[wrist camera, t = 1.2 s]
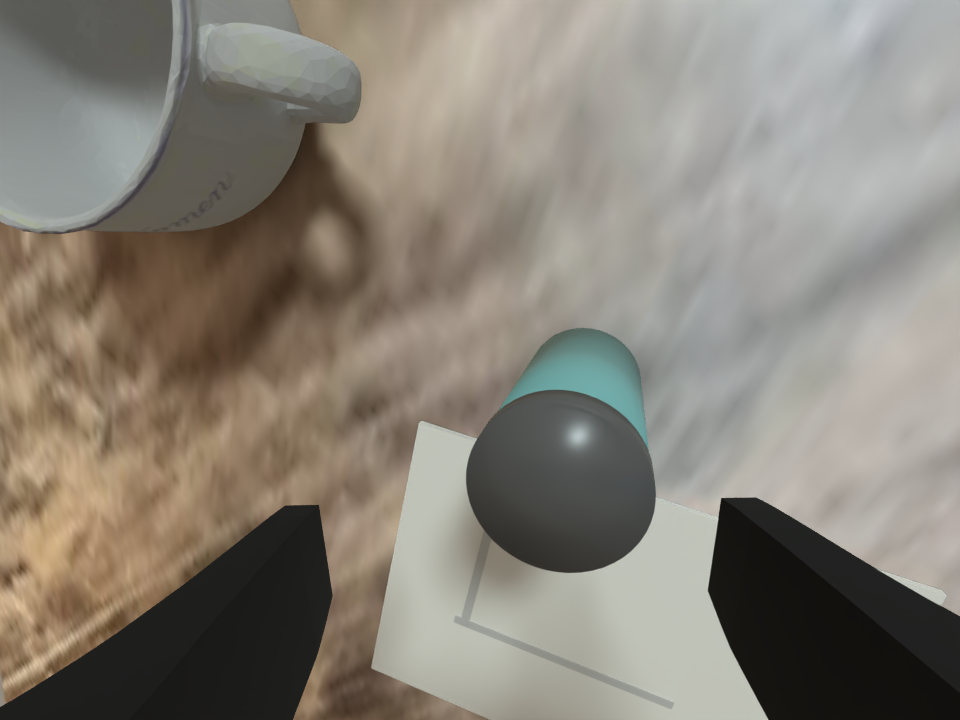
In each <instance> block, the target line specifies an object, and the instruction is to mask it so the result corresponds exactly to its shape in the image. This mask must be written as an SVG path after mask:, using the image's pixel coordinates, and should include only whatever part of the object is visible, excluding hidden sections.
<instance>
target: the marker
mask: <svg viewBox="0 0 960 720" xmlns="http://www.w3.org/2000/svg"><path fill="white" fill-rule="evenodd" d="M466 487H467V494H468V498H469V502H470V505H471V507H472V510H473V512H474V515H475V516H476V518H477V520H478V522H479V524H480V525H481V526H482V528H483V529H484V531H485V532H486V533H487V534H488V536H489V537H490V538H491V539H492V540H493V541H494V542H495V543H496V544H497V545H498V546H500V547H501V548H502V549H503V550H504V551H506V552H507V553H509V554H510V555H512V556H513V557H515V558H517V559H519V560H520V561H522V562H524V563H527V564H529V565H531V566H534V567H537V568H540V569H544V570H548V571H553V572H561V573H582V572H588V571H593V570H597V569H601V568H604V567H606V566H608V565H611V564H613V563H615V562H617V561H618V560H620V559H622V558H623V557H625V556H626V555H627V554H628V553H630V552H631V551H632V550H633V549H634V548H635V547H636V546H637V545H638V544H639V543H640V541H641V540H642V538H643V537H644V535H645V534H646V532H647V530H648V528H649V526H650V524H651V521H652V518H653V514H654V510H655V502H656V491H655V481H654V472H653V466H652V461H651V457H650V454H649V449H648V440H647V431H646V422H645V413H644V404H643V395H642V386H641V377H640V372H639V368H638V365H637V362H636V360H635V358H634V356H633V355H632V353H631V352H630V350H629V349H628V348H627V347H626V346H625V345H624V344H623V343H622V342H621V341H619V340H618V339H616V338H615V337H613V336H612V335H610V334H608V333H605V332H602V331H600V330H595V329H589V328H576V329H571V330H567V331H564V332H561V333H559V334H557V335H555V336H553V337H552V338H550V339H549V340H547V341H546V342H545V343H544V344H543V345H542V346H541V347H540V348H539V350H538V351H537V353H536V354H535V356H534V357H533V359H532V360H531V362H530V363H529V365H528V366H527V368H526V369H525V371H524V372H523V374H522V375H521V377H520V379H519V380H518V382H517V383H516V385H515V386H514V388H513V389H512V391H511V392H510V394H509V395H508V397H507V398H506V400H505V401H504V403H503V404H502V406H501V408H500V409H499V411H498V412H497V413H496V414H495V415H494V416H493V417H492V418H491V419H490V421H489V422H488V424H487V425H486V427H485V428H484V430H483V431H482V433H481V434H480V436H479V437H478V439H477V440H476V442H475V444H474V446H473V448H472V450H471V452H470V456H469V459H468V463H467V469H466Z"/></svg>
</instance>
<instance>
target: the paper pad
mask: <svg viewBox="0 0 960 720" xmlns="http://www.w3.org/2000/svg"><path fill="white" fill-rule="evenodd" d="M476 440H477V439H476V438H473V437H470V436H467V435H464V434H461V433H458V432H455V431H452V430H448V429H445V428H442V427H439V426H436V425H433V424H430V423H427V422H424V421H421V422H420V423H419V426H418V431H417V436H416V441H415V446H414V451H413V456H412V461H411V467H410V472H409V477H408V482H407V487H406V492H405V497H404V502H403V507H402V513H401V518H400V523H399V528H398V533H397V538H396V543H395V548H394V553H393V559H392V564H391V569H390V574H389V579H388V584H387V589H386V594H385V599H384V605H383V610H382V615H381V620H380V625H379V630H378V635H377V640H376V645H375V651H374V656H373V661H372V666H371V668H372V669H374V670H376V671H379V672H381V673H383V674H386V675H388V676H390V677H392V678H395V679H397V680H399V681H402V682H404V683H406V684H409V685H411V686H413V687H416V688H418V689H420V690H422V691H425V692H427V693H429V694H432V695H434V696H436V697H439V698H441V699H443V700H446V701H448V702H450V703H452V704H455V705H457V706H459V707H462V708H464V709H466V710H469V711H471V712H473V713H475V714H478V715H480V716H482V717H485V718H487V719H489V720H768V718H767V717H766V715H765V713H764V711H763V709H762V707H761V705H760V704H759V702H758V700H757V698H756V696H755V694H754V692H753V690H752V689H751V687H750V685H749V683H748V681H747V679H746V677H745V675H744V674H743V672H742V670H741V668H740V666H739V664H738V662H737V660H736V658H735V656H734V654H733V652H732V651H731V649H730V646H729V644H728V641H727V639H726V637H725V634H724V632H723V629H722V627H721V624H720V622H719V619H718V617H717V614H716V611H715V609H714V606H713V603H712V601H711V598H710V595H709V593H708V585H709V578H710V571H711V565H712V558H713V551H714V544H715V538H716V531H717V524H718V517H715V516H712V515H709V514H706V513H703V512H700V511H697V510H694V509H691V508H688V507H685V506H682V505H679V504H675V503H672V502H669V501H666V500H663V499H660V498H657V497H656V502H655V510H654V514H653V518H652V521H651V524H650V526H649V528H648V530H647V532H646V534H645V535H644V537H643V538H642V540H641V541H640V543H639V544H638V545H637V546H636V547H635V548H634V549H633V550H632V551H631V552H630V553H628V554H627V555H626V556H625V557H623V558H622V559H620V560H618V561H617V562H615V563H613V564H611V565H608V566H606V567H604V568H601V569H597V570H593V571H588V572H582V573H561V572H553V571H548V570H544V569H540V568H537V567H534V566H531V565H529V564H527V563H524V562H522V561H520V560H519V559H517V558H515V557H513V556H512V555H510V554H509V553H507V552H506V551H504V550H503V549H502V548H501V547H500V546H498V545H497V544H496V543H495V542H494V541H493V540H492V539H491V538H490V537H489V536H488V534H487V533H486V532H485V531H484V529H483V528H482V526H481V525H480V524H479V522H478V520H477V518H476V516H475V515H474V512H473V510H472V507H471V505H470V502H469V498H468V494H467V487H466V469H467V463H468V459H469V456H470V452H471V450H472V448H473V446H474V444H475V442H476ZM877 570H878V569H877ZM879 571H881V570H879ZM881 572H882V573H884V574H886V575H888V576H889V577H891V578H893V579H894V580H896V581H898V582H899V583H901V584H903V585H905V586H906V587H908V588H910V589H912V590H913V591H915V592H917V593H919V594H920V595H922V596H924V597H926V598H927V599H929V600H931V601H933V602H935V603H936V604H938V605H940V606H941V604H942V603H943V601H944V600H945V598H946V595H945V594H944V592H943V591H942V590H939V589H936V588H933V587H930V586H927V585H924V584H921V583H918V582H915V581H912V580H909V579H906V578H903V577H899V576H896V575H893V574H890V573H887V572H884V571H881Z"/></svg>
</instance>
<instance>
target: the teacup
mask: <svg viewBox="0 0 960 720" xmlns="http://www.w3.org/2000/svg"><path fill="white" fill-rule="evenodd" d="M360 101H361V77H360V72H359V70H358V68H357V66H356V65H355V63H354V62H353V61H352V60H351V59H349V58H348V57H347V56H346V55H345V54H343V53H342V52H340V51H338V50H336V49H334V48H332V47H331V46H328V45H326V44H323V43H320V42H318V41H315V40H313V39H310V38H307V37H305V36H302V35H301V31H300V28H299V25H298V22H297V20H296V17H295V14H294V11H293V9H292V6H291V4H290V2H289V0H0V221H1V222H3V223H4V224H7V225H9V226H12V227H14V228H17V229H19V230H22V231H28V232H35V233H46V234H64V233H71V232H77V231H82V230H87V231H108V232H180V231H192V230H199V229H206V228H210V227H215V226H219V225H222V224H225V223H228V222H230V221H233V220H235V219H237V218H239V217H241V216H243V215H244V214H246V213H248V212H249V211H251V210H252V209H254V208H255V207H257V206H258V205H259V204H260V203H261V202H262V201H264V200H265V199H266V198H267V197H268V196H269V195H270V194H271V193H272V192H273V191H274V190H275V188H276V187H277V186H278V185H279V183H280V182H281V181H282V179H283V178H284V176H285V174H286V173H287V171H288V170H289V168H290V166H291V164H292V162H293V160H294V158H295V156H296V154H297V151H298V149H299V146H300V142H301V139H302V135H303V132H304V128H305V123H312V122H321V123H338V124H339V123H348V122H350V121H352V120H353V119H354V117H355V116H356V114H357V112H358V109H359V107H360Z"/></svg>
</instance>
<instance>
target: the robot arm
mask: <svg viewBox="0 0 960 720" xmlns="http://www.w3.org/2000/svg"><path fill="white" fill-rule="evenodd" d="M708 593H709V595H710V598H711V601H712V603H713V606H714V609H715V611H716V614H717V617H718V619H719V622H720V624H721V627H722V629H723V632H724V634H725V637H726V639H727V641H728V644H729V646H730V649H731V651H732V652H733V654H734V656H735V658H736V660H737V662H738V664H739V666H740V668H741V670H742V672H743V674H744V675H745V677H746V679H747V681H748V683H749V685H750V687H751V689H752V690H753V692H754V694H755V696H756V698H757V700H758V702H759V704H760V705H761V707H762V709H763V711H764V713H765V715H766V717H767V718H768V720H960V616H958V615H956V614H954V613H953V612H951V611H949V610H947V609H945V608H944V607H942V606H940V605H938V604H936V603H935V602H933V601H931V600H929V599H927V598H926V597H924V596H922V595H920V594H919V593H917V592H915V591H913V590H912V589H910V588H908V587H906V586H905V585H903V584H901V583H899V582H898V581H896V580H894V579H893V578H891V577H889V576H888V575H886V574H884V573H882V572H881V571H879V570H877V569H876V568H874V567H872V566H871V565H869V564H867V563H866V562H864V561H862V560H861V559H859V558H857V557H856V556H854V555H853V554H851V553H849V552H848V551H846V550H844V549H843V548H841V547H839V546H838V545H836V544H834V543H833V542H831V541H830V540H828V539H826V538H825V537H823V536H821V535H820V534H818V533H817V532H815V531H813V530H812V529H810V528H808V527H807V526H805V525H803V524H802V523H800V522H798V521H797V520H795V519H793V518H792V517H790V516H788V515H787V514H785V513H783V512H782V511H780V510H778V509H777V508H775V507H773V506H771V505H769V504H768V503H766V502H764V501H762V500H760V499H758V498H721V504H720V511H719V518H718V524H717V531H716V538H715V544H714V551H713V558H712V565H711V571H710V578H709V585H708ZM332 596H333V595H332V589H331V582H330V576H329V569H328V563H327V556H326V549H325V543H324V536H323V530H322V523H321V517H320V510H319V505H293V506H284V507H283V508H281V509H280V510H279V511H277V512H276V513H274V514H273V515H272V516H270V517H269V518H268V519H267V520H265V521H264V522H263V523H261V524H260V525H259V526H258V527H256V528H255V529H254V530H253V531H251V532H250V533H249V534H248V535H246V536H245V537H244V538H243V539H241V540H240V541H239V542H238V543H236V544H235V545H234V546H233V547H231V548H230V549H229V550H228V551H226V552H225V553H224V554H222V555H221V556H220V557H219V558H217V559H216V560H215V561H213V562H212V563H211V564H210V565H208V566H207V567H206V568H205V569H203V570H202V571H201V572H199V573H198V574H197V575H196V576H194V577H193V578H192V579H190V580H189V581H188V582H187V583H185V584H184V585H183V586H181V587H180V588H178V589H177V590H176V591H174V592H173V593H172V594H170V595H169V596H167V597H166V598H165V599H163V600H162V601H161V602H159V603H158V604H156V605H155V606H154V607H152V608H151V609H150V610H148V611H147V612H145V613H144V614H143V615H141V616H140V617H139V618H137V619H136V620H134V621H133V622H132V623H130V624H129V625H128V626H126V627H125V628H123V629H122V630H121V631H119V632H118V633H116V634H115V635H113V636H112V637H110V638H109V639H108V640H106V641H105V642H103V643H102V644H100V645H99V646H97V647H96V648H94V649H93V650H91V651H90V652H88V653H87V654H85V655H84V656H82V657H81V658H79V659H77V660H76V661H74V662H73V663H71V664H70V665H68V666H66V667H65V668H63V669H62V670H60V671H59V672H57V673H55V674H54V675H52V676H51V677H49V678H47V679H46V680H44V681H43V682H41V683H40V684H38V685H36V686H35V687H33V688H32V689H30V690H28V691H27V692H25V693H23V694H22V695H20V696H18V697H17V698H15V699H14V700H12V701H10V702H8V703H7V704H5V705H3V706H1V707H0V720H293V718H294V715H295V712H296V710H297V707H298V705H299V702H300V699H301V697H302V694H303V691H304V689H305V686H306V684H307V681H308V678H309V676H310V673H311V670H312V668H313V665H314V662H315V660H316V657H317V654H318V651H319V647H320V643H321V640H322V636H323V632H324V629H325V625H326V621H327V616H328V612H329V608H330V604H331V600H332Z"/></svg>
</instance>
